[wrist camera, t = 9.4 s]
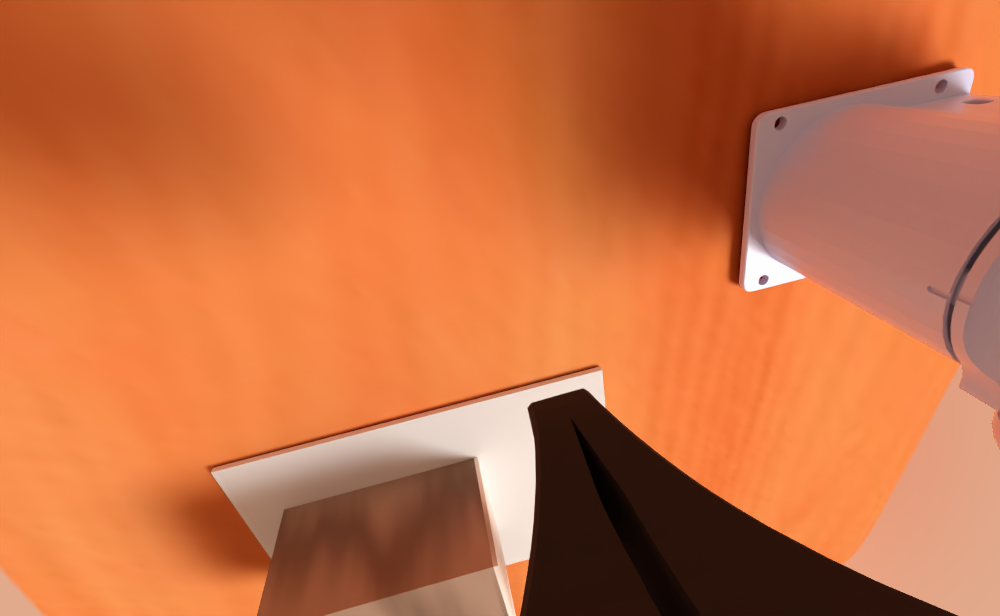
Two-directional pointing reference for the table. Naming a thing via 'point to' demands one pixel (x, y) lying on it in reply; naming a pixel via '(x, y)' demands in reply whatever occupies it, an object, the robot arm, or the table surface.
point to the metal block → (393, 551)
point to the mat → (410, 460)
